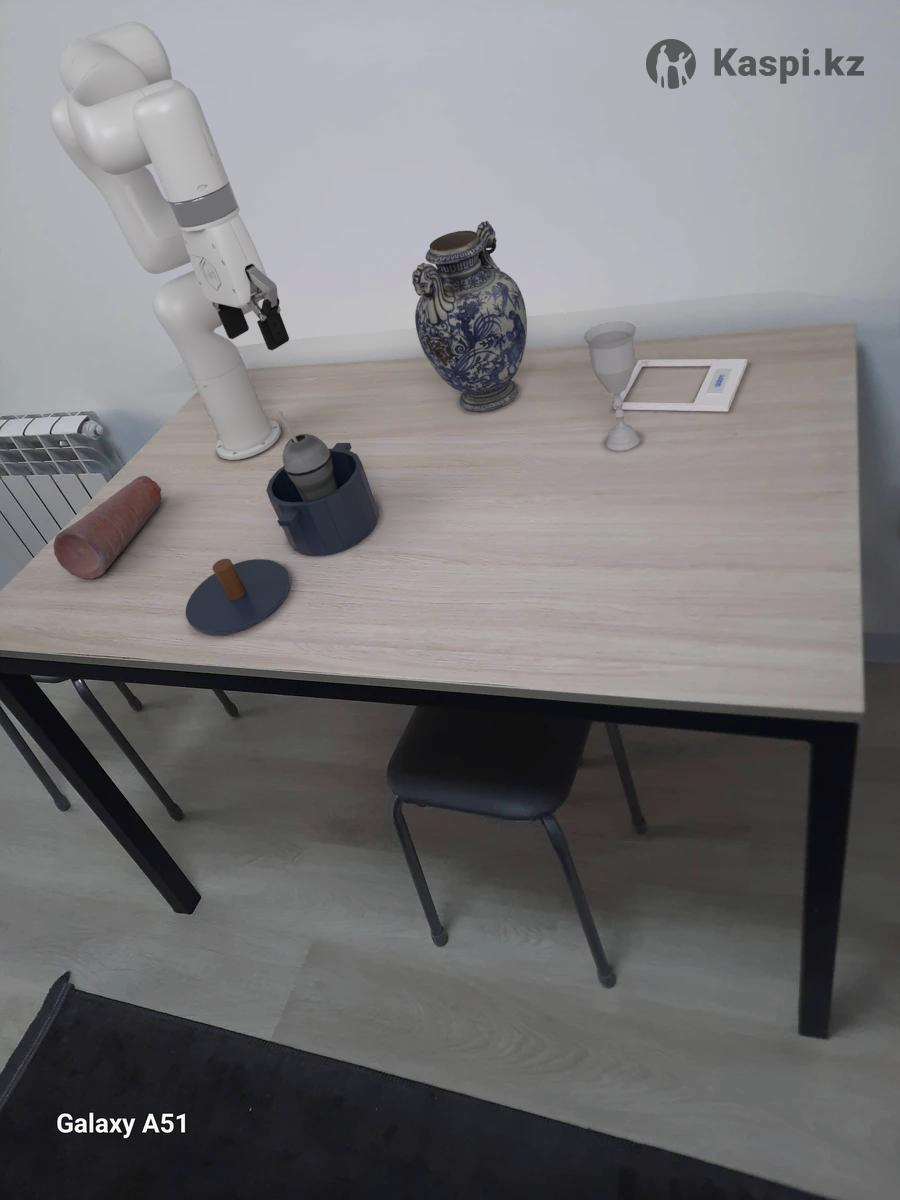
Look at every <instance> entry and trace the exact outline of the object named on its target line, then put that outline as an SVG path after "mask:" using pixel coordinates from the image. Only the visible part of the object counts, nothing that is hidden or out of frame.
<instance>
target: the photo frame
mask: <svg viewBox="0 0 900 1200" xmlns="http://www.w3.org/2000/svg"><path fill="white" fill-rule="evenodd" d="M635 364H636V365H634V368H633V372H632V376H631V378H630V380H629V383H628V385H627V388H626V389H625V390H624V391H622V392H621V395H620V396H621V399H622V401H624V400H625V398H626V397H627V395H628V393H629V391H630V389H631V388H632V385H633V384H634V382H635V380H637V379H636V378H637V377H638V375H639V373H640V372H641V370H642V369H643V367H709V369H708V371H707V373H706V376H705V377H704V380H703V382H702V385H701V386H700V389H699V390H698V393H697V395H696V397H695V399H694V401H693V402H692V403H691V402H690V403H688V402H634V401H633V402H632V401H630V402H629V401H628V402H627V401H624V403H623V405H622V409H623V410H631V411H632V410H637V411H644V410H645V411H678V412H679V411H681V412H682V411H685V412H726V413H727V412H729V410H730V408H731V406H732V403H733V401H734V398H735V396H736V393H737V391H738V388H739V386H740V384H741V381H742V378H743V377H744V374H745V371H746V369H747V367H748V358H704V359H703V358H700V359H699V358H695V359H694V358H692V359H691V358H690V359H689V358H687V359H686V358H685V359H683V358H682V359H680V358H679V359H677V358H675V359H639V360H638V361H637V362H636V363H635ZM613 409H614V410H616V408H615V406H614V405H613Z"/></svg>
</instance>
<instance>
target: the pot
mask: <svg viewBox="0 0 900 1200" xmlns="http://www.w3.org/2000/svg"><path fill="white" fill-rule="evenodd" d="M351 449H352V444H351V443H350V442H336V444H335V445H334V446H333V447H332V448H328V450H329V451H330V452H331V455H332V456H331V459H332V463H333V471H334V475H335V478H336V482H337V486H338V489H337V490H336V491H334V492H332V493H330V494H328V495H326V496H324V497H321V498H317V499H314V500H311V501H306V502H304V501H303V499H302V497H301V495H300V493H299V491H298V489H297V488H296V486H295V484H294V483H293V482H292V480H291V479H290V477H289V476H288V474H287V473H286V472H285V469H284V465H283V466H282V467H280V468H278V469H277V470H276V472H275V473H274V474H273V475H272V476H271V477H270V478H269V480H268V484H267V487H266V489H265V490H266V491H265V492H266V494H267V496H268V500H269V502H270V504H271V506H272V508H273V510H274V512H275V515H276V517H277V524H278V526H279V527H281V528H282V530H283V532H284V534H285V537H286V539H287V541H288V543H289V546H290V547H291V548H292V549H293V550H294V551H295V552H296V553H298V554H300V555H303V556H308V557H325V556H331V555H334V554H338V553H342V552H344V551H346V550H349V549H351V548H353V547H355V546H356V545H358V544H360V543H361V542H362V541H364V540H365V539H366V538H367V537H368V536H370V534H372V532H373V531H374V530H375V528H376V526H377V524H378V523H379V519H380V513H379V507H378V505H377V502H376V499H375V496H374V494H373V491H372V488H371V485H370V482H369V480H368V477H367V473H366V471H365V468H364V466H363V463H362V461H361V458H360V457H359V455H358V454H357V453H355V452H353V451H351Z"/></svg>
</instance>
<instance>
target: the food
mask: <svg viewBox="0 0 900 1200" xmlns="http://www.w3.org/2000/svg"><path fill="white" fill-rule="evenodd" d="M161 502H162V488H161V487H160V485H158V483H157V482H156V481H155V480H153V479H152V478H151V477H150V476H148V475H140V476H138V477H136V478H135V479H133V480H132V481H131V482H129V483H127V484H126V485H125V486H123V487H122V488H120V489H119V490H118V491H116V492H115V493H114V494H113V495H111V496H109V497H108V499H106V501H103V502H102V503H100V504H98V505H97V507H95V508H93V510H91V511H90V512H88V513H87V514H86V515H84V516H83V517H82V518H80V519H79V520H77V521H76V522H74V523H73V524H71V525H70V526H69V527H66V528H64V529H63V530H62V531H60V532H58V534H55V535H56V536H55V538H54V541H53V545H52V546H53V552H54V553H53V554H54V556H55V558H56V560H57V562H58V563H59V565H60V566H61V567H62V568H63V569H65V571H67V572H68V573H69V574H70V575H72V576H75V577H77V578H78V579H79V578H80V579H89V580H94V579H97V578H100V577H101V576H102V575H104V574H105V572H106V571H107V570H108V569H109V568H110V567H111V566H112V565H113V564H114V562H115V560H117V558H118V557H119V555H120V554H121V553H123V551H124V550H125V548H126V547H127V546H128V545H129V544H130V543H131V541H132V540H133V539H134V538H135V537H136V535H137V534H138V533H139V532H140V530H141V529H142V528H143V526H144V525H145V524H146V522H147V521H148V520H149V518H150V517H151V515H153V513H154V512H155V511H156V509H158V507H159V506H160V505H161Z"/></svg>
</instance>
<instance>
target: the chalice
mask: <svg viewBox="0 0 900 1200" xmlns="http://www.w3.org/2000/svg"><path fill="white" fill-rule="evenodd" d="M636 330H637V327H636V325H635V324H633V323H631V322H629V321H622V320H621V321H620V320H619V321H616V320H615V321H607V322H603V323H599V324H597V325H594V326H591V327H590V328H589V329H587V330H586V331H585V333H583V334H584V335H583V339H584V340H585V342H586V343H587V345H588V351H589V357H590V358H589V359H590V365H591V369H592V371H593V373H594V375H595V376H596V378H597V381H599V383H600V384H601V385H602V386H603V388H604V389H605V391H606V392H607V393H609V394H613V402H612V405H613V407H614V406H615V408H616V409H615V412H614V413H613V416H614V417H615V420H616V421H617V422H616V424H615V425H614V426H612V428H611V429H610V430H609V434H608V437H607V440H606V443H605V444H606V447H607V448H608V449H610V450H613V451H616V452H617V451H618V452H619V451H620V452H621V451H627V450H631V449H633V448H635V447H636V446H637V445H638V444H639V443H640V440H641V438H640V436H639V435H638V434H637V431H636V430H635V429H634V427H633V426H632V425H630V424H628V423H625V420H624V418H625V416H626V415H627V412H625V411H624V409H622V405H623V403H624V402H625V401H624V400H623V401H622V399H621V396H620V395H621V392H622V391H624V390H625V389H626V388H627V385H628V383H629V380H630V378H631V376H632V372H633V370H634V368H635V366H636V365H635V364H636V354H635V345H634V336H635V333H636Z"/></svg>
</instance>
